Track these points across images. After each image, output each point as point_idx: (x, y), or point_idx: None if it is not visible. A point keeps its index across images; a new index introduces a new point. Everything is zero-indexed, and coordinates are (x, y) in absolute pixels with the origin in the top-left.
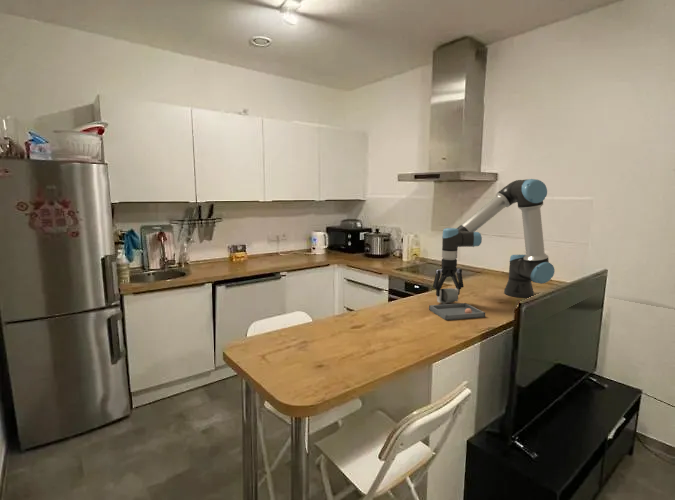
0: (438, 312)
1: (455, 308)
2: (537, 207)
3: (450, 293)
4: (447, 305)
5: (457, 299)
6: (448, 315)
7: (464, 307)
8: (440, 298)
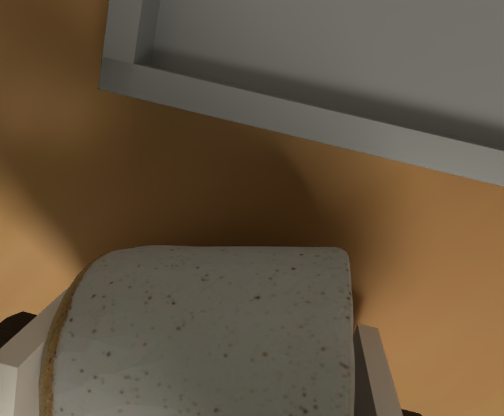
0: None
1: (341, 57)
2: None
3: (264, 306)
4: (443, 135)
5: None
6: None
7: (181, 36)
8: (377, 364)
